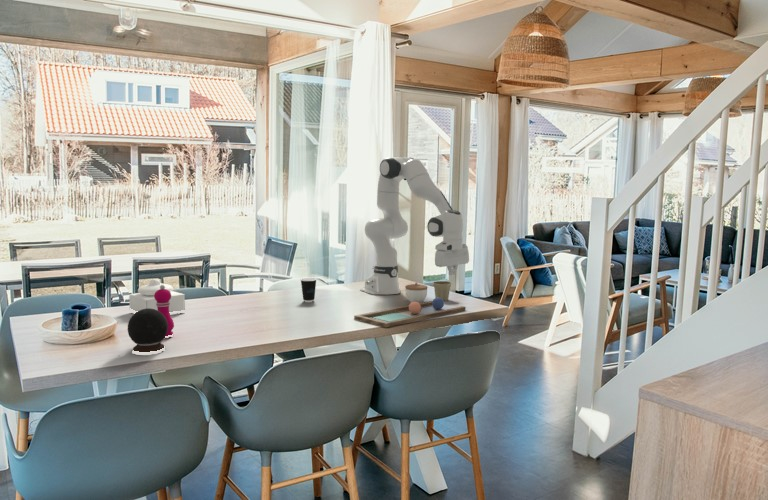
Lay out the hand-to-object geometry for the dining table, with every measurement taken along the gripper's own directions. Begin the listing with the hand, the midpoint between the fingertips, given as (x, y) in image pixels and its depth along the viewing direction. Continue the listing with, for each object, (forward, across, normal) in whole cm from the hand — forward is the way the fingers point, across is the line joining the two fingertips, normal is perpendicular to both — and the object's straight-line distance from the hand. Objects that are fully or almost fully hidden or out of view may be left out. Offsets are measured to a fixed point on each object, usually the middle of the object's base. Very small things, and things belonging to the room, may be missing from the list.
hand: (452, 274), depth 295 cm
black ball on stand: (+15, +136, -20) cm, 138 cm away
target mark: (+15, +36, 0) cm, 39 cm away
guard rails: (+15, +26, 0) cm, 30 cm away
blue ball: (+12, +10, 0) cm, 16 cm away
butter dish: (+15, +108, -78) cm, 134 cm away
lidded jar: (+15, +4, -19) cm, 25 cm away
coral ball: (+12, +24, 0) cm, 27 cm away
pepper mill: (+15, +124, -35) cm, 129 cm away
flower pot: (+15, -8, -14) cm, 22 cm away
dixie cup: (+15, +42, -55) cm, 71 cm away
